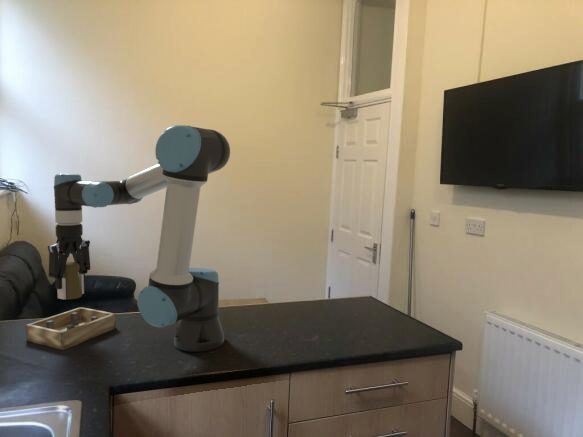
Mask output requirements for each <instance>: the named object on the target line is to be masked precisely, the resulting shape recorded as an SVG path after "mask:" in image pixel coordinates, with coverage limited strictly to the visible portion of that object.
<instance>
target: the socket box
mask: <svg viewBox="0 0 583 437" xmlns="http://www.w3.org/2000/svg"><path fill="white" fill-rule="evenodd" d="M115 329H117V316H116V313H113V312H109V311H104V310H98V309H94V308H93V309H92V308H88V307H82V306H79V307H77V308H73V309H70V310H68V311H65V312H61V313H58V314H55V315H52V316H49V317H46V318H44V319H39V320H37V321H33V322H31V323H28V324H25V334H26V341H27V342H31V343H33V344H38V345H42V346H45V347H50V348H54V349H58V350H62V351H64V350H67V349H69V348H71V347H74V346H77V345H79V344H81V343H84V342H86V341H89V340H92V339H94V338H96V337H98V336H101V335H103V334H106V333H108V332H111V331H112V330H115Z"/></svg>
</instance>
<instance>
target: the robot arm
mask: <svg viewBox="0 0 583 437" xmlns="http://www.w3.org/2000/svg"><path fill="white" fill-rule="evenodd" d="M230 146H231V145H230V143H229V141H228V140H227V138H226V137H225V136H224V135H223V134H222V133H221V132H219V131H217V130H215V129H208V128H202V127H197V126H191V125H185V124H184V125H181V124H180V125H179V124H178V125H173V126H169V127H168V128H166V130H164V131H163V132H162V133H161V134H160V136H159V137H158V139H157V141H156V145H155V148H154V149H155V154H154V155H155V158H156V160H157V164H155V165H153V166H151V167H148V168H146V169H143V170H142V171H140V172H137V173H135V174H132V175H130V176H128V177H126V178H124V179H122V180H116V181H115V180H111V181H110V180H107V181H105V180H102V181H100V180H98V181H93V180H92V181H89V180H88V181H87V180H82V176H81V174H79V173H78V174H77V173H57V174H55V176H54V177H53V178H54V180H53V182H54V183H53V184H54V185H53V193H54V194H53V197H54V216H55V218H54V219H55V223H56V225H55V237H56V242H55V243H54V244H52V245H49V244H48V246H47V250H48V255H49V256H48V278H51V279H52V278H53V279H54V282H55V283H54V284H55V289H56V290H57V291H56V292H57V299H60V300H67V299H66V283H65V278H63V275H64V271H65V266H66V263H67V262H68V261H67V260H68V258H69V257H70V254H71V256H72V258H73V262H77V263H78V264H79V266H80V269H79V271H78V276H79V282H80V287H81V293H82V295H83V294H85V286H84V285H85V282H86V274H88V272H89V271H90V270H91V257H90V243H91V241H90V240H89V239H83V238H82V236H83V232H84V231H83V230H84V229H83V224H82V222H83V207H92V208H105V207H108V206H114V205H115V206H116V205H117V206H118V205H132V204H133V205H134V204H136V203H139V202H141V201H142V199H143V198H144V197H146V196H149V195H152V194H155V193H156V192H158V191H161V190H164V189H166V190H165V199H164V204H163V206H164V207H163V214H162V221H161V229H160V236H159V244H158V251H157V252H158V254H157V259H156V260H157V261H156V268H155V269H154V270H152V271H151V272H150V273H149V278H148V285H147V286H144V287H143V288H142V289H141V290H140V291H139V292H138V295H137V301H136V302H137V303H136V304H137V309H138V311H139V314H140V315H141V316H142V318H143V319H144V321H145V322H146V323H148V324H149V325H151V326H152V327H154V328H155V327H156V328H164V327H167V326H171V325H174V324H175V323H177V322H178V324H177V327H176V330H175V333H174V337H173V344H174V345H173V346H174V348H176V349H178V350H180V351H183V352H188V353H189V352H191V353H194V352H195V353H199V352H206V351H207V352H208V351H212V350H215V349H218V348H219V347H221V346H222V345H224V342H225V332H224V331H223V327H222V324H221V320H220V318H219V316H220V315H219V310H220V309H219V303H220V302H219V300H220V298H219V296H220V295H219V291H220V290H219V287H220V286H219V284H220V282H219V273H218V272H217V271H216V270H214V269H212V268H203V267H190V264H191V257H192V250H193V242H194V235H195V229H196V222H197V214H198V207H199V200H200V192H201V187H202V186H204V185H205V184H207V182H208V178H209V174H211V173H215V172H217V171H220V170H221V169H223V168H224V167H225V166H226V165H227V164H228V162H229V160H230V156H231V147H230Z"/></svg>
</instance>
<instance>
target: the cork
mask: <svg viewBox="0 0 583 437" xmlns="http://www.w3.org/2000/svg"><path fill="white" fill-rule="evenodd" d="M79 269H80V266H79V264H78V263H77V262H74V261H67V262H66V266H65V271H64V275H63V278H65V283H66V299H65V300H76V299H80V298H81V297H83V294H82V293H81V287H80V282H79V276H78V273H79V272H78V271H79Z"/></svg>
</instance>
